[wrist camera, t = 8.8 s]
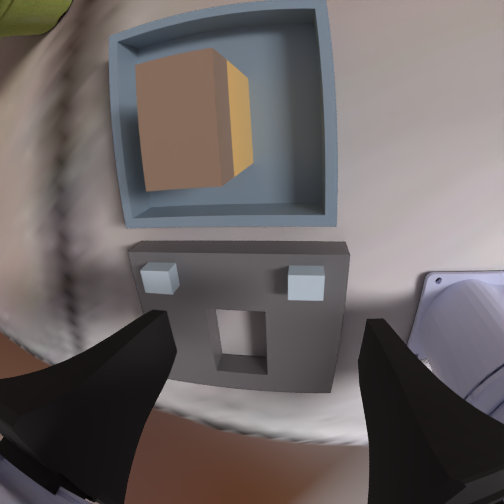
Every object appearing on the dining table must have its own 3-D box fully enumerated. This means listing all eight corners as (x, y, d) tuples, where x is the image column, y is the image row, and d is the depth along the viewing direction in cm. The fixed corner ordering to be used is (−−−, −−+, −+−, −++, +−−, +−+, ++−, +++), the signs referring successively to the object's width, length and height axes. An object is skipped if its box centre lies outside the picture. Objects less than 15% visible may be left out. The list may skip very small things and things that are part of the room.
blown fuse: (248, 78, 14) (212, 47, 8) (253, 163, 16) (221, 186, 10) (197, 84, 15) (134, 64, 9) (203, 165, 17) (146, 191, 10)
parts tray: (322, 18, 13) (326, -1, 10) (331, 210, 17) (336, 226, 15) (134, 45, 15) (109, 36, 12) (148, 213, 19) (126, 228, 17)
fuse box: (345, 241, 18) (353, 264, 15) (329, 375, 23) (330, 404, 20) (141, 240, 20) (118, 259, 17) (172, 363, 25) (159, 387, 22)
